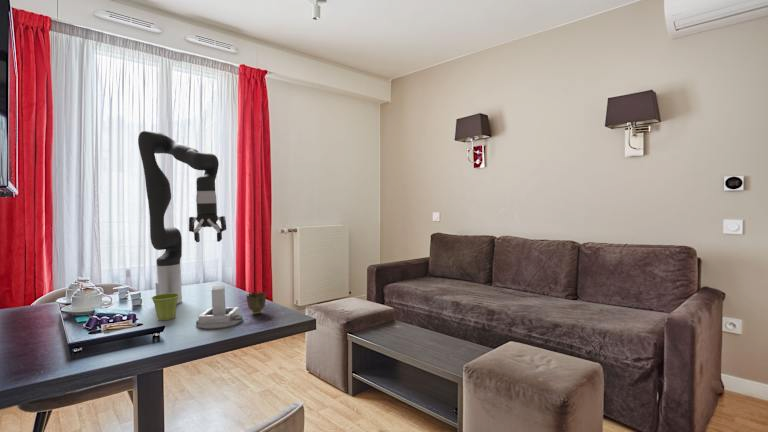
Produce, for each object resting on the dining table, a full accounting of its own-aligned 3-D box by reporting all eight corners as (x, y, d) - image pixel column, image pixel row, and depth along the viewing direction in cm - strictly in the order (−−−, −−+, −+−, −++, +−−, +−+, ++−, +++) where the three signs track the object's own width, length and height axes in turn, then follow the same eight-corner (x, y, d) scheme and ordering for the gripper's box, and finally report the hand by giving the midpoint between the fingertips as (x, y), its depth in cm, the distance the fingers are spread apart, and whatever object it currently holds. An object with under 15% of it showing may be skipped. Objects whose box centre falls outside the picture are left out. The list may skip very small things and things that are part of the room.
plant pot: (184, 317, 160) (182, 295, 160) (157, 323, 153) (156, 300, 153) (174, 313, 167) (173, 291, 166) (149, 318, 160) (147, 296, 159)
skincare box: (213, 317, 155) (212, 286, 155) (226, 316, 157) (224, 285, 156) (212, 322, 150) (211, 289, 149) (225, 321, 151) (223, 288, 150)
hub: (188, 330, 145) (188, 318, 145) (206, 316, 161) (205, 306, 161) (235, 329, 146) (234, 317, 145) (247, 315, 162) (247, 305, 161)
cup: (260, 317, 159) (260, 296, 159) (243, 316, 161) (242, 295, 160) (269, 311, 167) (269, 291, 166) (253, 310, 168) (252, 291, 168)
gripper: (227, 201, 173) (228, 240, 174) (192, 202, 173) (194, 241, 173) (221, 202, 166) (222, 242, 167) (184, 202, 165) (186, 243, 166)
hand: (208, 241), depth 170 cm, fingers open, 8 cm apart
